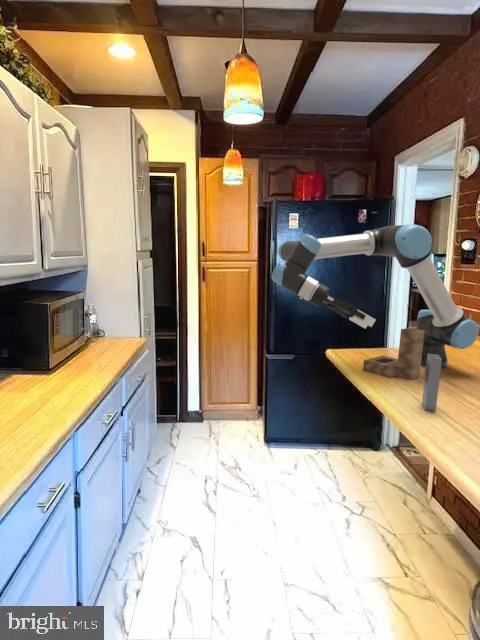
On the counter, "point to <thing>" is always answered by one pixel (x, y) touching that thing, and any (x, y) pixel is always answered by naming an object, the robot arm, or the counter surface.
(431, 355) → the grey metal block
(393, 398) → the counter surface
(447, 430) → the counter surface
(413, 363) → the wooden post with frame
